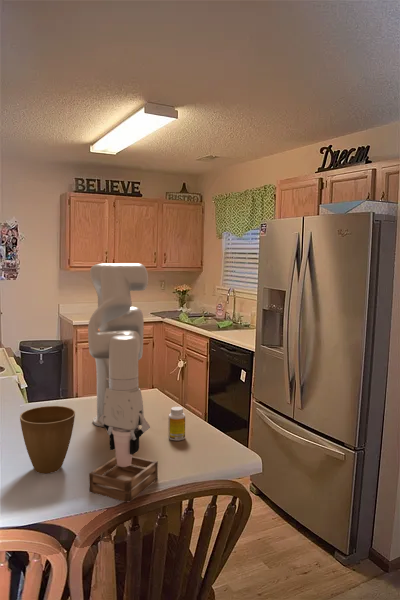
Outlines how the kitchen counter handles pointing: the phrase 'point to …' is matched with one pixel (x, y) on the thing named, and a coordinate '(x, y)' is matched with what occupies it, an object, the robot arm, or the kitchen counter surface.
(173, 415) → the supplement bottle
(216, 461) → the kitchen counter surface
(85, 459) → the kitchen counter surface
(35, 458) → the plant pot
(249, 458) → the kitchen counter surface
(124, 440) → the smoothie
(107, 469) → the crate
